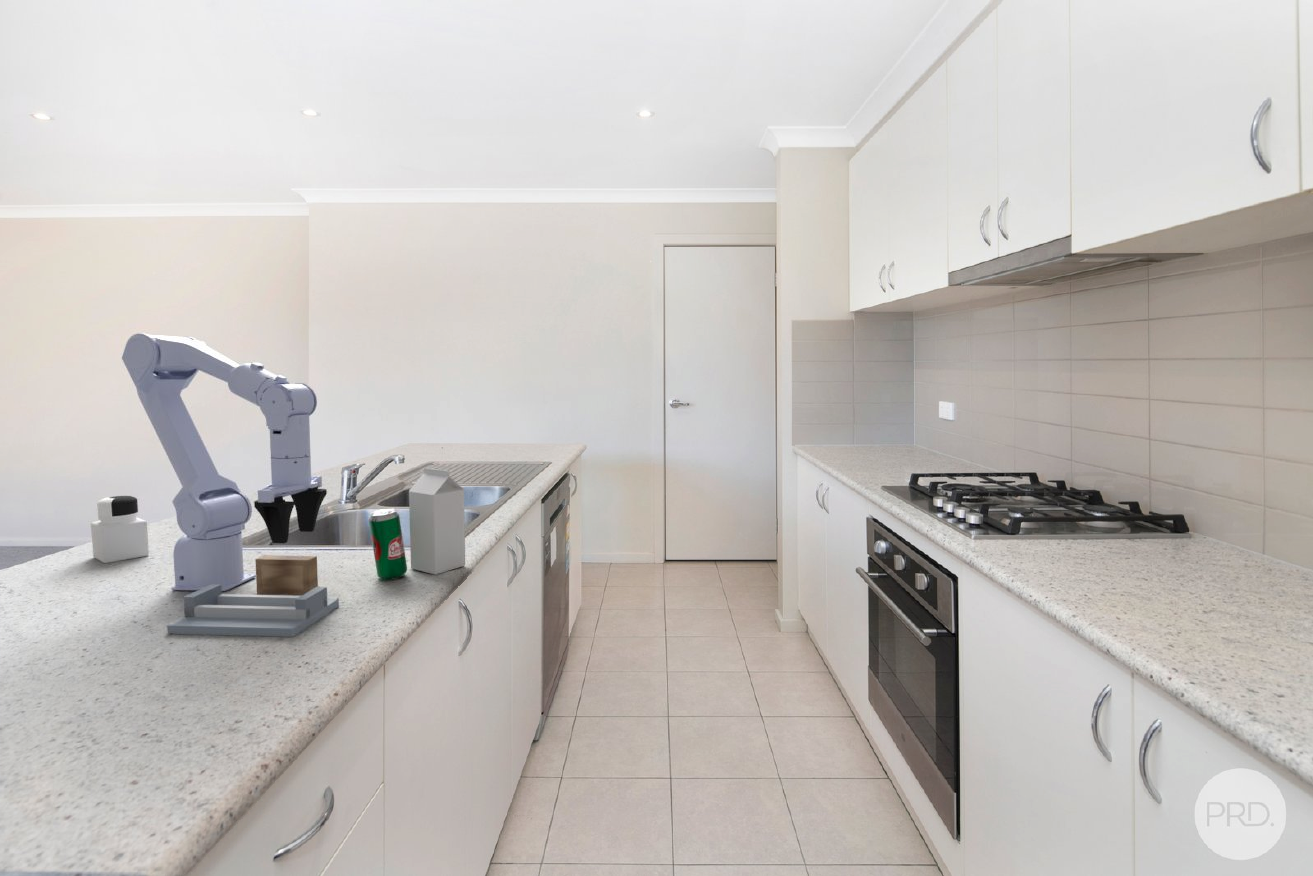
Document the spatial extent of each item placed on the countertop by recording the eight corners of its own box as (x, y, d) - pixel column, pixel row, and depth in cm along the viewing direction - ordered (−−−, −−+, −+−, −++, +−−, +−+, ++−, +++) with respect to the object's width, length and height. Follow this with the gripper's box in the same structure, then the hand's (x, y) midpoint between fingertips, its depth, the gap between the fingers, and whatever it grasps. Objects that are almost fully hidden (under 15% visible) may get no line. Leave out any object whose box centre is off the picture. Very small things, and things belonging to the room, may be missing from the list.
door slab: (256, 594, 105) (255, 559, 105) (266, 589, 108) (264, 555, 107) (309, 595, 105) (308, 560, 105) (318, 590, 108) (316, 556, 107)
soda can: (396, 581, 112) (386, 516, 110) (371, 580, 113) (361, 516, 111) (413, 570, 117) (404, 507, 115) (389, 569, 118) (379, 507, 116)
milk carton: (435, 575, 116) (433, 473, 114) (410, 569, 120) (407, 469, 118) (465, 566, 122) (464, 468, 120) (441, 560, 126) (439, 465, 124)
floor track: (167, 633, 89) (165, 604, 88) (227, 603, 101) (226, 577, 100) (293, 636, 88) (291, 607, 88) (338, 606, 100) (337, 580, 100)
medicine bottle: (137, 549, 131) (134, 492, 130) (149, 555, 127) (145, 496, 125) (92, 557, 125) (88, 497, 124) (103, 564, 121) (99, 502, 120)
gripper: (288, 462, 97) (291, 549, 99) (337, 451, 112) (340, 527, 113) (243, 461, 97) (246, 547, 99) (298, 451, 112) (301, 526, 113)
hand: (293, 536), depth 106 cm, fingers open, 7 cm apart
